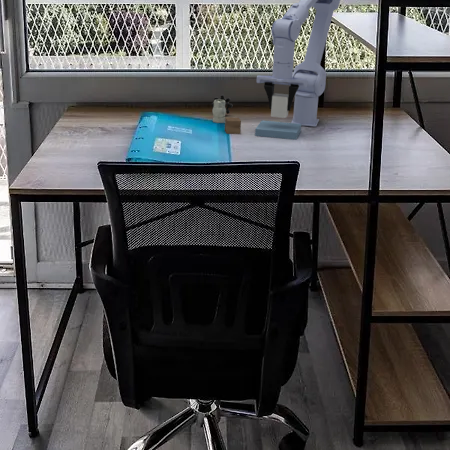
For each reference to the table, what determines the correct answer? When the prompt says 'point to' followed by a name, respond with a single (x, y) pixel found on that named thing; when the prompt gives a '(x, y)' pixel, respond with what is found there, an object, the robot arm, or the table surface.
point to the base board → (278, 129)
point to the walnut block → (232, 125)
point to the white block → (279, 105)
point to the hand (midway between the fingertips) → (279, 109)
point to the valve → (220, 109)
